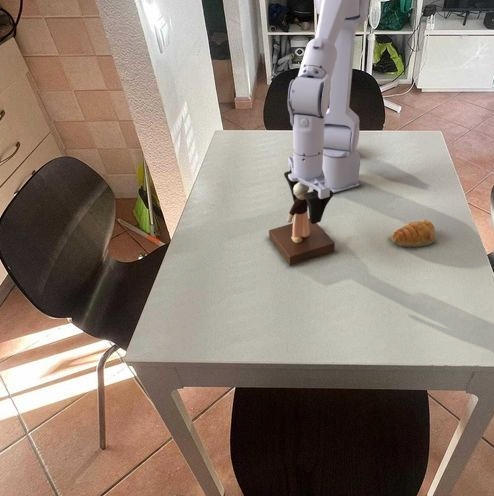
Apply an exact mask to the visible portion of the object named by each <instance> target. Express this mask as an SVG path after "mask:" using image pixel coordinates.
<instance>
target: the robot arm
mask: <svg viewBox="0 0 494 496" xmlns="http://www.w3.org/2000/svg"><path fill="white" fill-rule="evenodd" d="M313 3H314V8H315V9H316V14H317V15H318V20H317V27H316V32H315V36H314V38H312V39H310V41H308V43H307V44H306V46H305V50H304V53H303V57H302V61H301V64H300V67H299V70H298V74H297V76H296V77H295V79H291V80H290V83H289V86H288V90H287V91H288V92H287V110H288V113H289V122H290V125H291V126H292V140H293V141H292V153H293V154H292V155H293V156H289V157H287V167H288V168H289V171H284V174H283V176H284V178H285V180H286V181H287V184H288V186H289V189H290V193H291V196H292V201H293V202H294V201H295V200H296V199H297V197H296V195H295V194H294V191H293V188H294V186H295V185H296V184H297V183H298V182H300V183H302V184H304V185H306V186H309V188H311V189H312V191H308V193H305V194H304V197H305V199H306V201H307V204H308V218H310V222H311V223H312V224H315V223H317V224H318V223H321V221H322V218H323V215H324V213H325V210H326V208H327V205H328V204H329V202H330V200H331V199H332V198H333V197H334V194H335V193H338V192H339V193H340V192H342V191H346V190H349V189H352V188H353V189H354V188H356V187H359V186H360V182H359V179H360V178H359V177H360V168H361V155H360V152H359V150H358V145H359V138H360V117H359V115H358V114H357V113H356V112H355V111H353V109H351V108H350V103H351V102H350V100H351V89H352V78H353V66H354V56H355V44H356V35H357V34H356V33H357V29H358V25H359V24H361V23H363V22H366V21H367V20H368V19H367V18H368V16H369V10H370V9H369V8H370V0H313Z"/></svg>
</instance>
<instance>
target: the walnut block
mask: <svg viewBox="0 0 494 496" xmlns="http://www.w3.org/2000/svg"><path fill="white" fill-rule="evenodd" d="M308 221H309V230H310V235H309V236H308V237H306V238H303V237H301V238H302V241H301V242H299V243H295V242H294V241H293V240H292V238H291V237H292V236H293V222H291V223H288V224H285V225H282V226H278V227H275V228H272V229H268V235H269V241H270V242H271V243H272V244H273V246H274V247H275V249H276V250H277V251H278V252H279V254H280V255H281V257H282V258H283V259H284V260H285V262H286V263H287V264H288V266H289V267H291V266H294V265H298V264H301V263H304V262H307V261H311V260H313V259H316V258H319V257H323V256H327V255H329V254H332V253H334V252H335V246H336V245H335V241H334V240H333V239H332V238H331V237H330V236H329V235H328V234H327V233H326V232H325V230H323V228H322V227H321V226H320V225H319V224H318V223H315V224H312V223H311V222H310V217H308Z"/></svg>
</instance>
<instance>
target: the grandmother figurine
mask: <svg viewBox="0 0 494 496" xmlns="http://www.w3.org/2000/svg"><path fill="white" fill-rule="evenodd" d="M293 191H294V194H295V195H296V197H297V199H296V200H295V201H293V204H292V206H291V208H290V210H289V212H288V217H287V218H286V221H287V223H288V224H291V223H293V236H292V237H291V238H292V240H293V241H294V242H295V243H299V242H301V241H302V238H301V237H303V238H306V237H308V236H309V235H310V230H309V221H308V219H309V212H308V211H309V208H308V204H307V201H306V199H305V197H304V194H305V193H308V192H309V191H310V187H309V186H306V185H304V184H302V183H300V182H298V183H297V184H296V185H295V186H294V188H293ZM292 221H293V222H292Z"/></svg>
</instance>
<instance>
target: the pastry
mask: <svg viewBox="0 0 494 496" xmlns="http://www.w3.org/2000/svg"><path fill="white" fill-rule="evenodd" d="M436 239H437V235H436V231H435V226H434V224H433V223H432V222H431V221H428V220H426V219H425V220H422V221H414V222H413V221H412V222H409V223H408V224H407V223H406V224H405V225H404V226H402V227H400V228H398V229H396V230H395V231H394V232H393V234H392V237H391V240H392V242H393V243H395V244H396V245H397V246H400V247H405V248H407V247H410V248H417V247H423V246H430V245H432V244H433V243H434V242H436Z"/></svg>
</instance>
